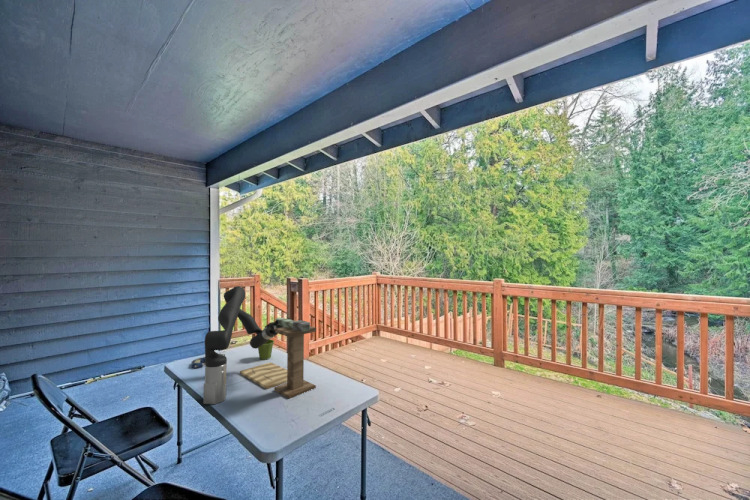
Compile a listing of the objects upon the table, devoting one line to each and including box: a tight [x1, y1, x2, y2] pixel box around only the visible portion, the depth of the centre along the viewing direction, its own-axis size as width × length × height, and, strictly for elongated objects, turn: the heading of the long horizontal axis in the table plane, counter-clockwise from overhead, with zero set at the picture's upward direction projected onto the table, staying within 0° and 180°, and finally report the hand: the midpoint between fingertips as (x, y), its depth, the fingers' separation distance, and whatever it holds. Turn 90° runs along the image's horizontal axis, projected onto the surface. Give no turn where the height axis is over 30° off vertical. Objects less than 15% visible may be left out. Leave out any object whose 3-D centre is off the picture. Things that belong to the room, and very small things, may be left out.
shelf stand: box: [273, 325, 317, 400], centre depth 158 cm, size 14×16×32 cm
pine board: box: [239, 361, 287, 390], centre depth 175 cm, size 32×20×2 cm, turn 48°
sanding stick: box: [275, 317, 311, 332], centre depth 161 cm, size 26×5×4 cm, turn 48°
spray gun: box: [191, 353, 226, 369], centre depth 196 cm, size 21×4×15 cm
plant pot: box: [257, 339, 275, 361], centre depth 206 cm, size 12×12×11 cm
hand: (284, 320), depth 166 cm, fingers open, 6 cm apart
